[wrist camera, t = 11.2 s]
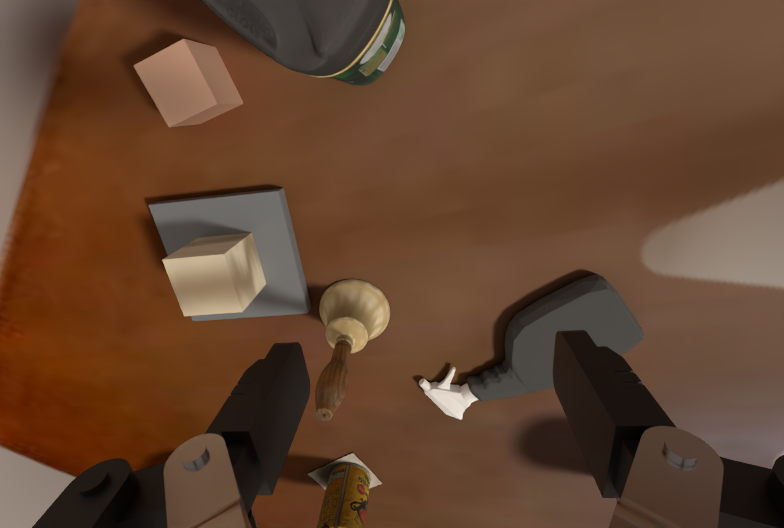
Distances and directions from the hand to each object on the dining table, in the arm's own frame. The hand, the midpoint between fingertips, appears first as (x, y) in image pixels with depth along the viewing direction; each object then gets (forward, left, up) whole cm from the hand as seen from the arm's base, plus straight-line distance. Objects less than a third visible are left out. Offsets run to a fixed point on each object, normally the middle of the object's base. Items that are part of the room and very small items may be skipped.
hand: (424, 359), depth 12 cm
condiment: (+42, -15, -28) cm, 53 cm away
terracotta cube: (-11, -19, -28) cm, 35 cm away
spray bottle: (+21, +10, -28) cm, 37 cm away
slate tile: (+6, -21, -28) cm, 35 cm away
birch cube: (+6, -21, -26) cm, 34 cm away
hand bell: (+14, -9, -28) cm, 32 cm away
